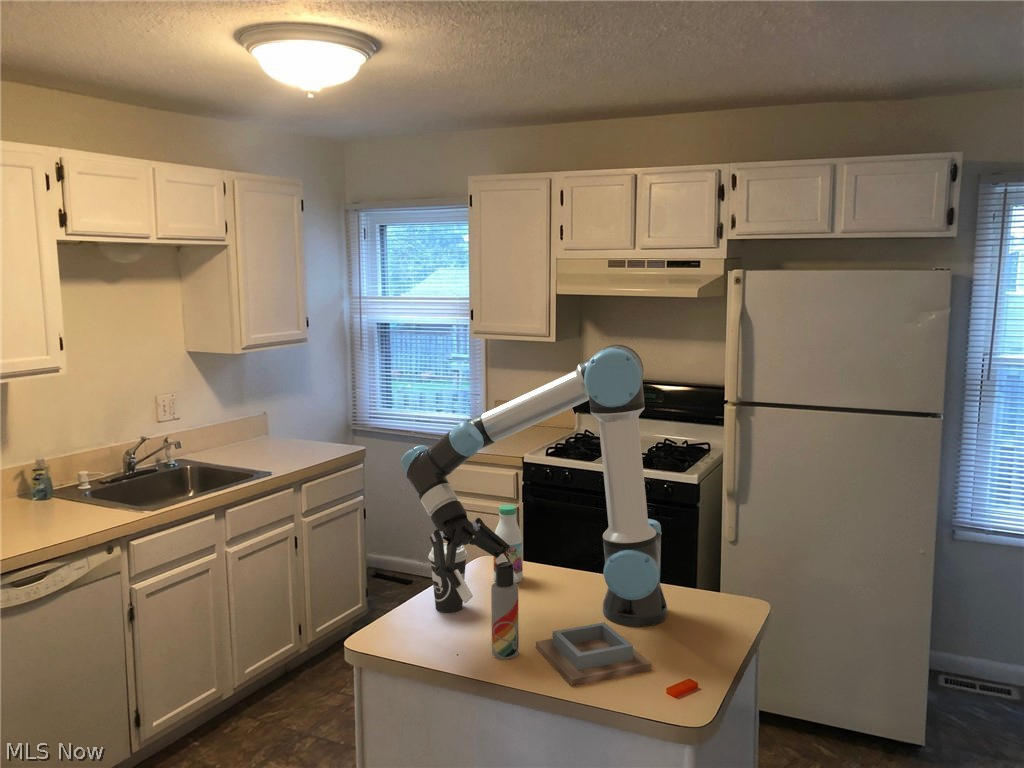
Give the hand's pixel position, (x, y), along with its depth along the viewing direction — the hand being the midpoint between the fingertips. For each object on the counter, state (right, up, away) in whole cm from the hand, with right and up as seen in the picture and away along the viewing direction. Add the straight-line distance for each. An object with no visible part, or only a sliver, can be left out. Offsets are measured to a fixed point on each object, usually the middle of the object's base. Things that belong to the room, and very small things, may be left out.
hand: (492, 590), depth 171 cm
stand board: (+21, -14, -3) cm, 25 cm away
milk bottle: (+3, -8, +43) cm, 44 cm away
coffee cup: (-11, -11, +24) cm, 29 cm away
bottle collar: (+21, -12, -3) cm, 24 cm away
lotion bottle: (+3, -14, 0) cm, 14 cm away
